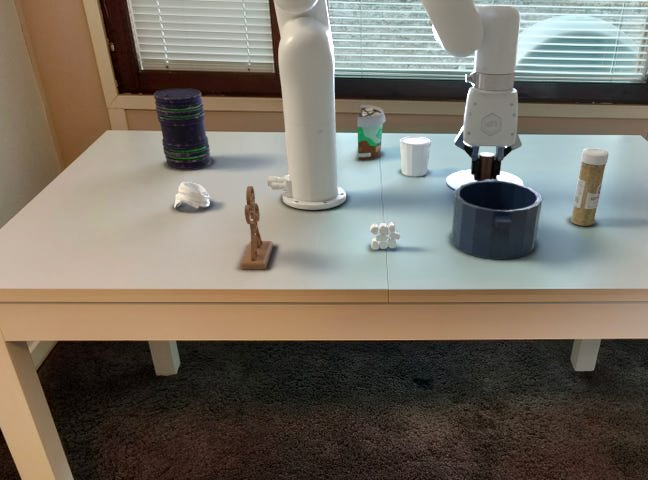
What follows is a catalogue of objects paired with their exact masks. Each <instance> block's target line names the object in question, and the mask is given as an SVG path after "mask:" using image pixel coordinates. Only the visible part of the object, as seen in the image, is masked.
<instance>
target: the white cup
mask: <svg viewBox="0 0 648 480" xmlns="http://www.w3.org/2000/svg"><path fill="white" fill-rule="evenodd" d="M431 144H432V141H431V140H430V139H429V138H426V137H422V136H405V137H402V138H400V139H399V151H400V164H401V168H400V169H401V174H402V175H404V176H407V177H422V176H426V175H427V173H428V165H429V159H430V152H431Z"/></svg>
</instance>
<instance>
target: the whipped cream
mask: <svg viewBox="0 0 648 480" xmlns="http://www.w3.org/2000/svg"><path fill="white" fill-rule="evenodd" d="M177 190H178V193H176V194H175V202H174V204H173V207H174V209H175V210H176V209H178V207H180V206H181V204H182V203H184V204H187V205H189V206H191V207H193V208H194V209H199V208H200V207H201V208H207V207H209V206H210V204H211V203H210V194H209V193H208V191H207V190H206V189H205V187H204V186H202V184H199V183H195V182H192V181H182V182H180V184H179V185H178V188H177Z"/></svg>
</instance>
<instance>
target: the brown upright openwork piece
mask: <svg viewBox="0 0 648 480" xmlns="http://www.w3.org/2000/svg"><path fill="white" fill-rule="evenodd" d="M245 193H246V194H245V195H246V196H245V197H246V198H245V200H246V204H245V205H244V217H245V221H246V224H247V225H249V230H250V241H249V243H248V246H247V248H246V250H245V253H244V255H243V258H242V260H241V263H240V269H241V270H265V269H266V268H267V265H268V262H269V260H270V256H271V254H272V252H273V248H274V243H273V241H271V240H263V239H262V237H261V233H260V229H259V225H258V222H260V219H261V218H260V217H261V214H260V209H259V205H258V203H257V202H256V197H255V196H256V195H255V189H254V187H253V186H252V185H250V186H249V185H248V186H246V192H245Z"/></svg>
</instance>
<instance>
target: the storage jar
mask: <svg viewBox="0 0 648 480" xmlns="http://www.w3.org/2000/svg"><path fill="white" fill-rule="evenodd" d="M153 99H154V100H155V101H154V102H155V112H156V114H157V121H158V122H159V124H160V129H161V134H162V140H161V142H162V146H163V149H162V150H163V154H164V157H165V159H166V163H165V164H166V166H167V167H168V168H169V169H173V170H178V171H192V170H198V169H202V168H206V167H208V166H209V165H211V163H212V159H211V157H210V156H211V152H210V150H211V148H210V144H209V137H208V136H207V132H206V126H205V120H206V117H205V116H206V115H205V112H204V111H205V108H204V107H205V106H204V103H203V99H202V91H201V90H200V89H199V90H198V89H196V88H187V87H174V88H173V87H172V88H167V89H166V88H165V89H161V90H160V89H159V90H157V91H155V92H154V93H153Z"/></svg>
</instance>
